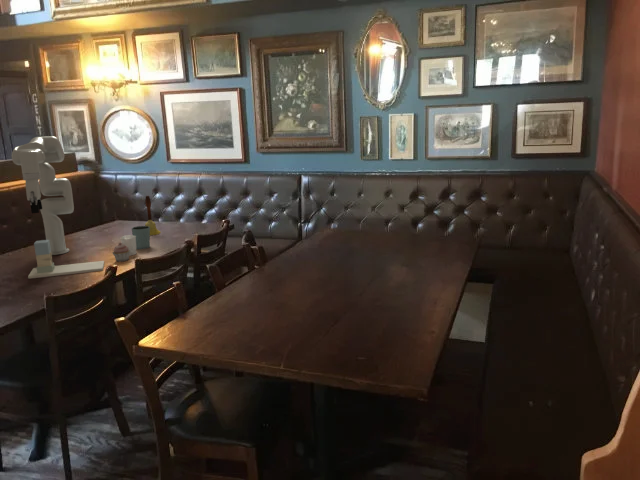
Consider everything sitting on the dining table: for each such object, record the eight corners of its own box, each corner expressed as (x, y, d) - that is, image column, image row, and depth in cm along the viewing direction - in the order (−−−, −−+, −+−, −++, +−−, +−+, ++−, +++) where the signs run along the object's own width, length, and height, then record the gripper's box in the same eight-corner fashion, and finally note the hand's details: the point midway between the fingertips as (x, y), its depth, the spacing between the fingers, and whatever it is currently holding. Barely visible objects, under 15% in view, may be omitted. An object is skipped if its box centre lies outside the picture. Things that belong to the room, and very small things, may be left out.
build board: (33, 270, 275) (32, 262, 274) (104, 262, 286) (103, 255, 285) (28, 278, 261) (27, 270, 260) (103, 270, 272) (101, 262, 271)
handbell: (146, 231, 360) (142, 194, 354) (164, 231, 358) (160, 194, 352) (138, 235, 348) (134, 197, 342) (156, 235, 346) (152, 197, 340)
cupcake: (109, 262, 287) (107, 244, 285) (121, 257, 296) (119, 239, 293) (123, 263, 284) (121, 245, 282) (135, 258, 292) (133, 240, 290)
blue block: (37, 252, 270) (36, 240, 268) (50, 251, 272) (49, 239, 270) (35, 255, 264) (34, 243, 263) (49, 254, 266) (47, 242, 265)
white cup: (132, 256, 297) (130, 238, 295) (120, 255, 299) (117, 238, 297) (140, 252, 305) (138, 235, 303) (127, 252, 307) (125, 235, 304)
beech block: (39, 263, 271) (37, 252, 270) (52, 262, 273) (50, 251, 272) (37, 267, 266) (35, 255, 264) (51, 265, 268) (49, 254, 266)
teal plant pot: (130, 248, 314) (127, 228, 312) (141, 244, 323) (139, 225, 321) (143, 249, 311) (141, 229, 308) (155, 245, 320) (153, 226, 317)
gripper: (26, 174, 266) (31, 208, 270) (19, 179, 250) (25, 215, 254) (43, 173, 268) (48, 207, 272) (37, 178, 252) (42, 213, 256)
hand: (37, 211), depth 263 cm, fingers open, 9 cm apart
